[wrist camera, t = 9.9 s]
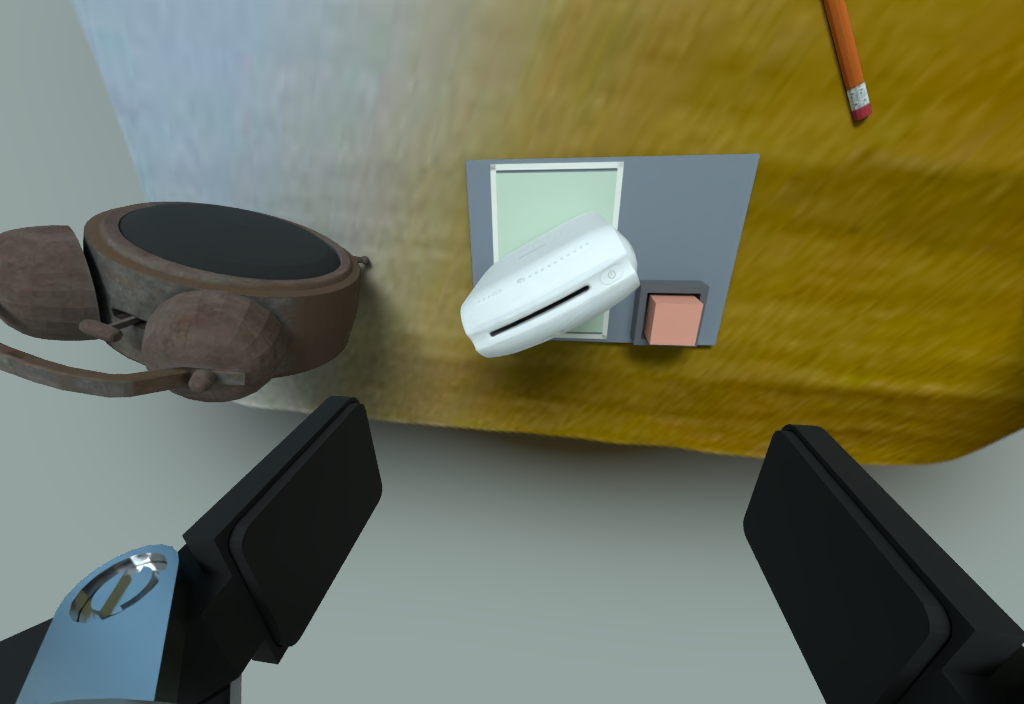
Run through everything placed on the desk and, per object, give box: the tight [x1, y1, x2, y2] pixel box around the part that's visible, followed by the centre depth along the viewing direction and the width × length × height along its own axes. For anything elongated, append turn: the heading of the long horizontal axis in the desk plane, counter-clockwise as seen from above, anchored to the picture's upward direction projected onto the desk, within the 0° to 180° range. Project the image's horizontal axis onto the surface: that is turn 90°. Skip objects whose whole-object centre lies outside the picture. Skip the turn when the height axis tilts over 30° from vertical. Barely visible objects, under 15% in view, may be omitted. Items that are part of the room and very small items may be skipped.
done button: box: [644, 294, 703, 346], centre depth 28 cm, size 3×3×2 cm
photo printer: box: [461, 210, 640, 358], centre depth 24 cm, size 10×4×12 cm, turn 120°
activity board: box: [466, 154, 760, 347], centre depth 29 cm, size 20×14×2 cm
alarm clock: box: [0, 202, 369, 402], centre depth 24 cm, size 15×7×20 cm, turn 70°
